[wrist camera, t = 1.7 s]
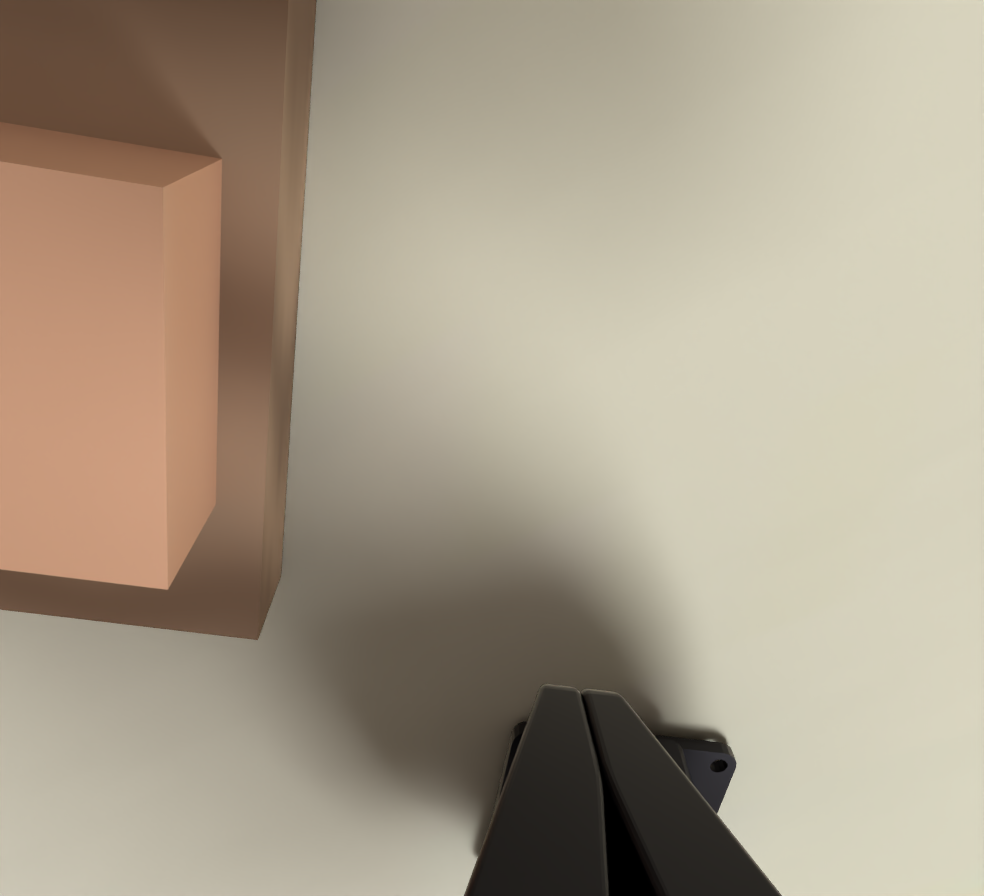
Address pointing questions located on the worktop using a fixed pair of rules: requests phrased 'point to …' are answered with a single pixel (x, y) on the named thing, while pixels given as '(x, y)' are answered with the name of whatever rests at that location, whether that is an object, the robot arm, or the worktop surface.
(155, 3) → the walnut ledge
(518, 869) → the robot arm
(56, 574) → the terracotta tile
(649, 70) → the worktop surface
